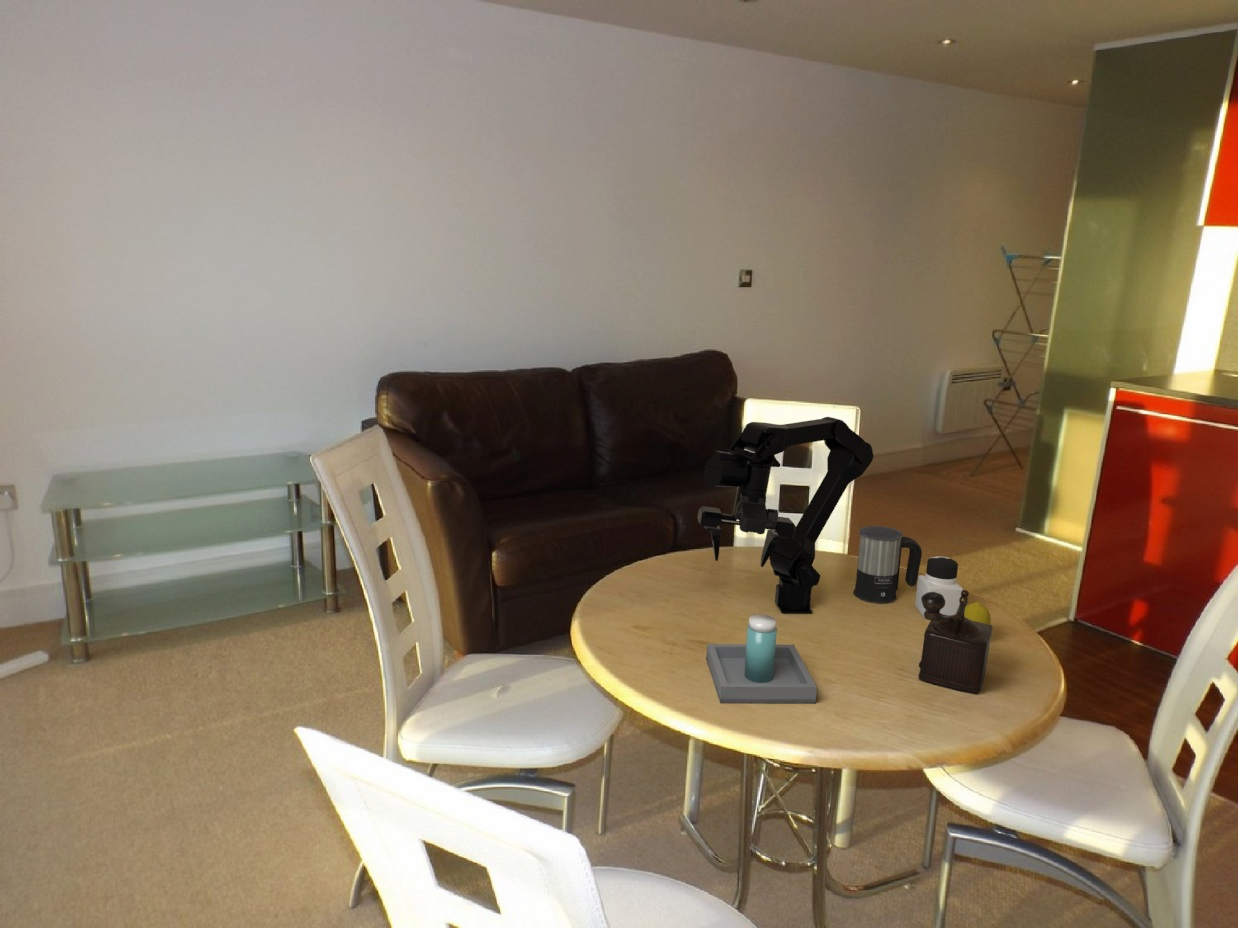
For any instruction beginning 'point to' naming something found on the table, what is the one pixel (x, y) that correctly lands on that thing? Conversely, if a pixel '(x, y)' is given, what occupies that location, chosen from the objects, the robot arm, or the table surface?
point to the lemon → (977, 613)
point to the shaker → (760, 648)
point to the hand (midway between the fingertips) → (739, 563)
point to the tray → (735, 688)
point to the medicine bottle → (940, 584)
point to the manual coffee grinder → (953, 647)
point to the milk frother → (884, 563)
